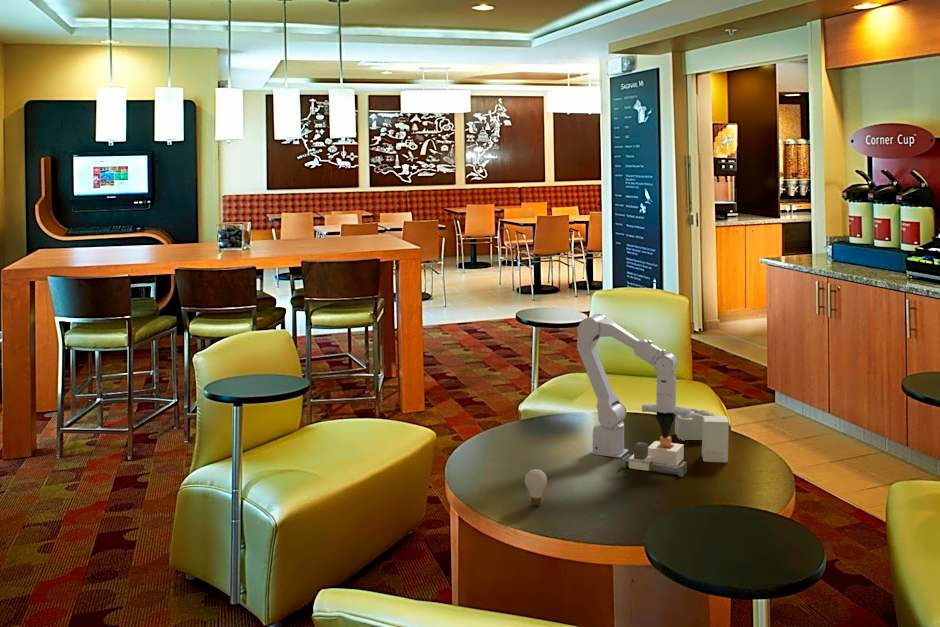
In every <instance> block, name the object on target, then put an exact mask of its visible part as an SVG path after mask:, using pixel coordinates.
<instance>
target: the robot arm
mask: <svg viewBox="0 0 940 627" xmlns="http://www.w3.org/2000/svg"><path fill="white" fill-rule="evenodd" d="M576 331H577V342H576V350H577V351H578V353H579V354H578V355H579V356H580V359H581V361H582V364H583V366H584V369H585V372H586V374H587V376H588V379H589V382H590V384H591V386H592V389H593V391H594V394H595V397H596V399H597V402H596V410H597V419H598V423H596V424H595V425H594V427H593V430H592V452H591V455H597V456H604V457H609V458H610V457H611V458H617V459H618V458H619V459H620V458H621V459H622V458H623V456H625V454H626V453H627V454H628V452H629V449H628V448H625V423H624V419H626V416H627V413H628V412H627V411H628V410H627V408H626V406H625V405H624V404H623V403H622V402H621V400H620V398H619V396H618V395H616V394H615V393H614V392H613V389H612V387H611V384H610V381H609V379H608V376H607V374H606V371H605V368H604V365H603V363H602V362H601V359H600V356H599V353H598V350H597V349H596V345H597V343H598V341H599V340H600V338H605V337H608V338H609V337H611V338H613V339H615V340H616V341H618V342H620V343H622V344H623V345H625V346H627V347H629V348H631V349H632V350H633V353H634V355H635V356H636V357H638V358H640V359H641V360H642V361H644V362H645V363H647V364H648V365H650V366H651V367H653V368H654V370H655V372H656V396H655V397H656V398H655V399H656V401H655V402H656V404H642V405H641V412H642V413H647V412H648V413H655V419H656V421H657V424H658V426H659V427H660V431H661V436H663V437H664V438H668V437H669V436H670V431H671V428H672V426H673V423H674V422H675V417H676V415H683V416H686V417H689V416H690V415H691V408H685V407H681V406H677V403H676V402H677V401H676V400H677V372H676V369H677V368H678V366H679V359H678V357H677V355H675V354H674V353H673V352H671V351H667V350H666V349H664V348H663V349H662V348H660V347H658V346H657V345H655V344H654V343H653V340H651V339H648V340H647V339H645V338H644V339H638V338H637V337H635V336H634V335H633V334H632V333H630V332H629V331H627V330H626V329H625V328H622V327H621V326H620V325H619V324H617V323H616V322H614V320H612V319H611V318H610V317H607V316H605V315H604V314H601V313H595V314H593V315H591V316H588V317H585V318H583V319H582V320H581V321H580V322H579V324H578V326H577V328H576ZM599 423H600V424H599Z"/></svg>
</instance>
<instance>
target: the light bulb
mask: <svg viewBox="0 0 940 627" xmlns="http://www.w3.org/2000/svg"><path fill="white" fill-rule="evenodd" d="M524 484H525V486H526V488H527V490H528V491H529V492H528V493H529V495H530V499H531V500H530V501H531V502H530V503H531V504H532V505H533V506H535V507H539V506H540V505H541V504H542V496H543V492H544V490H545V488H546V486H547V484H548V478H547V475H546V473H545V472H544V471H543V470H541V469H538V468H537V469H536V468H534V469H530V470H529V471H528V472H527V473H526V474H525V476H524Z"/></svg>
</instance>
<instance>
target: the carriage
mask: <svg viewBox="0 0 940 627" xmlns="http://www.w3.org/2000/svg"><path fill="white" fill-rule="evenodd" d="M648 447H649V443H648V442H642V441H641V442H640V441H638V442H636V443H635V444H634V445H633V454H631V457H630V458H629V468H628V469H633V470H641V471H648V472H649V463H650V462H653V456H648Z"/></svg>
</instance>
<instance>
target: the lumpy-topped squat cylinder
mask: <svg viewBox="0 0 940 627" xmlns="http://www.w3.org/2000/svg"><path fill="white" fill-rule="evenodd" d="M690 409H691V415H690V416H689V417H686V416H683V415H676V417H675V419H674V423H675V424H674V435H675V434H676V435H677V436H676V435H675V436H676V437H677V439H678V438H679V439H678V440H680V439H681V440H680V441H685V440H702V420H703V416H717V415H716V414H714V413H712V412H709V411H708V410H706V409H700V410H699V409H697V408H695V407H691V408H690Z"/></svg>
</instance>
